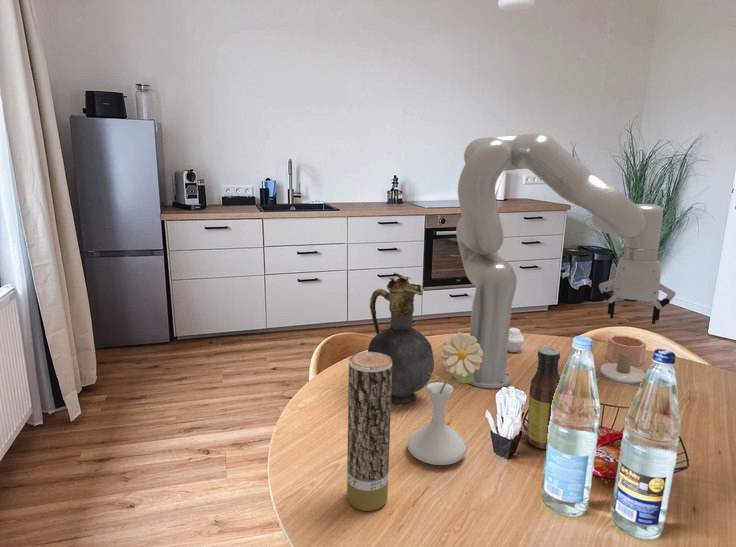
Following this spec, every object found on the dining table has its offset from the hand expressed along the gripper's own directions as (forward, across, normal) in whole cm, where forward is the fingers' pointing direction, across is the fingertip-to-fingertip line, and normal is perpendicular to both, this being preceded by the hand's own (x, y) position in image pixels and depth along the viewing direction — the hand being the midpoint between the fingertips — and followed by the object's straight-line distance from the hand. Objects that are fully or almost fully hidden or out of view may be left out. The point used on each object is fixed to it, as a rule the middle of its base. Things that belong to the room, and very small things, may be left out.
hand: (632, 319), depth 135 cm
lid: (+15, -1, 0) cm, 15 cm away
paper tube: (+14, -36, -77) cm, 86 cm away
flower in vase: (+15, -30, -58) cm, 67 cm away
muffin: (+15, -30, +3) cm, 34 cm away
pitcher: (+14, -49, -40) cm, 64 cm away
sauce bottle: (+15, -14, -44) cm, 49 cm away
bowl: (+16, -1, +11) cm, 19 cm away
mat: (+16, -1, 0) cm, 16 cm away
